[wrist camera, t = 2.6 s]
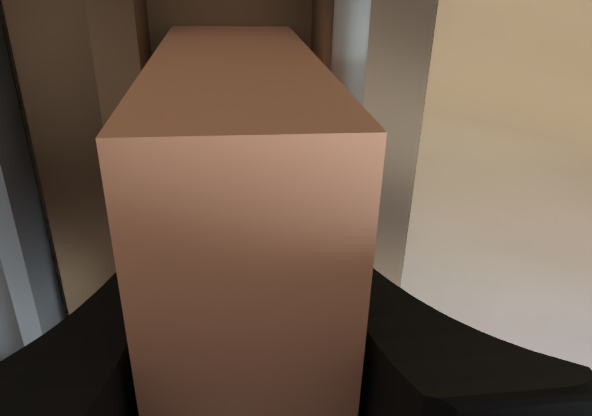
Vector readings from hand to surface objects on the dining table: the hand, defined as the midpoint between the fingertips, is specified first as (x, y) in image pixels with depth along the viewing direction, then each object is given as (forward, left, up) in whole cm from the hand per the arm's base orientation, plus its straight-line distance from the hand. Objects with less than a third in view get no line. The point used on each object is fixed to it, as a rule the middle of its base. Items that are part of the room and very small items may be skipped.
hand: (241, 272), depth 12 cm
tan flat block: (0, 0, -4) cm, 4 cm away
